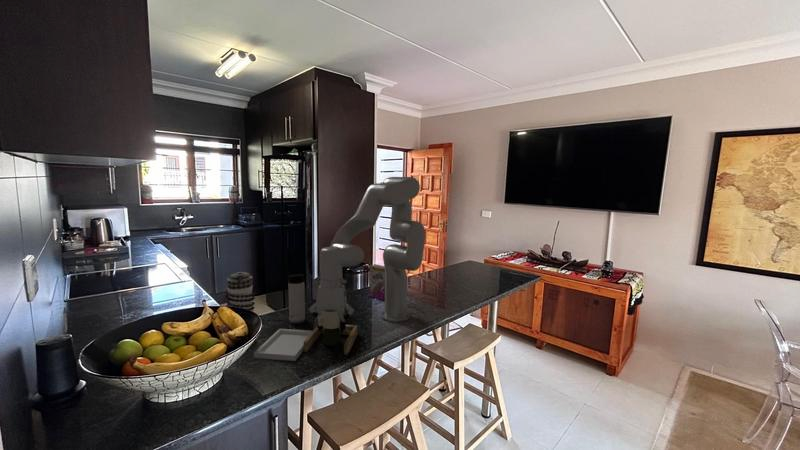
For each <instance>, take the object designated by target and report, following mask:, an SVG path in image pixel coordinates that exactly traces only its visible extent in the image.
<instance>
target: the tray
mask: <svg viewBox="0 0 800 450" xmlns="http://www.w3.org/2000/svg"><path fill="white" fill-rule="evenodd" d="M312 331H313V330H305V329H293V328H292V329H291V328H290V329H288V328H278V329H277V330H276V331H275V332H274V333H273V334H272V335H271V336H270V337H269V338H268V339H266V340H265V342H263V343H262V345H260V346H259V347H258V348H257V349H256V350H255V351H254V352H253V358H254V359H266V360H279V361H291V362H292V361H293V362H296V361H297V360H298V358H299V357H300V356H301V354H302V353H303V352H304V341H305V340H306V338H307V337H308V336H309V335H310V333H311V332H312Z"/></svg>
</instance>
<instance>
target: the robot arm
mask: <svg viewBox="0 0 800 450" xmlns="http://www.w3.org/2000/svg"><path fill="white" fill-rule="evenodd" d="M420 191H421V185H420V181H418V179H417V178H416V177H414V176H413V177H412V176H390V177H387V178H385V179H384V180H383V182H382V183H376V182H375V183H373V184H370V185H369V186H368V187H367V188H366V191H365V193H364V194H363V197H362V199H361V200H360V203H359V206H358V207H357V208H356V209H357V210H356V211H355V213H354V215H353V216H352V217H351V218H350V219H348V220H347V221H346V222H345V223H344V224H343V225H341V227H340V228H339V229H338V230H337V231H336V234H335V235H334V237H333V239H332V241H331V243H330V246H325V247H322V248H321V249H320V252H319V264H320V265H319V270H320V272H319V276H320V285H319V287H318V293H317V302H316V303H315V304H314V305H313V304H312V305H311V306H310V307H308V311H309V312H310V313H311V314H312V316H313V317H314V319H315V320H316V323H317V325H316V326H317V328H319V332H320V331H321V330H322V329H323V326H319V325H318V318H319V317H321V315H322V310H324V311H326V312H335V311H338V315H339V317H340V319H341V322H340V332H341V333H343V331H344V330H345V329H346V325H347V324H346V323H347V320H348V319H350V317H351V316H352V314H354V312H355V309H354V307H352V306H351V305H350V304H348V301H347V300H348V299H347V291H346V286H345V285H346V283H347V279H344V277H343V268H344V267H345V268H346V267H356V266H358V265H360V264H361V263H362V262H363V261H364V258H365V252H364V250H363V249H362V248H361V247H360V246H357V245H355V244H350V242H351V241H352V239H353V238H354V237H355V236H357V235H358V234H360V233H362V232H364V231H367V230H369V229H371V228H374V226H375V225H376V224H377V223H376V222H377V221H378V219H379V216H380V214H381V212H382V210H383V209H384V207H385V206H387V207H391V216H390V222H389V223H390V225H389V237H390V239H391V240H392V241H395V242H400V243H405V244H406V245H402V244H397V243H395V244H394V243H393V244H388V245H387V246H386V247H385V248H384V249H383V252H382V262H383V266H384V267H385V301H384V310H383V311H382V312H381V313H380V317H381V319H383V320H384V321H386V322H390V323H399V322H406V321H407V320H409V319H410V318H411V315H416V316H417V313H418V310H417V309H415V308H414V307H412V308H410V307H409V304H408V303H407V302H408V299H407V298H408V274H407V271H411V272H413V271H414V272H415V271H418V270H419V269H420V267H421V265H422V262H423V257H424V251H425V249H424V248H425V242H426V241H425V240H426V229H425V226H424V225H423V224H422V222H420V221H417V220H412V213H413V210H412V209H413V207H412V203H411V201H410V200H413V199H415V198H416V197H418V194H419V193H420ZM315 308H316V311H315ZM345 311H347V313H346V312H345Z"/></svg>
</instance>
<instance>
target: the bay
mask: <svg viewBox="0 0 800 450" xmlns="http://www.w3.org/2000/svg"><path fill="white" fill-rule="evenodd" d="M324 329H325V328H324V327H323V329H322V330H321V331H320V332H319V328H317V325H316V326H315V327H314V328H313V330H311V331H312V332H311V333H310V335H309V336H308V337H307V338H306V340H305V341H304V350H303V352H305V353H307V352H308V351H309V350H310V349H311V348H312V346H313V345H314V343H315V342H316V341H317V340H318V338H319V337H320V336H321V334H323V335H324ZM339 331H340V327H339ZM358 331H359V325H356V324H346V329H345V330H344V331H343V333H341V332H340V336H341V335H343V336H344V335H345V336H347V339H346V340H345V342H344V344H343V355H347V356H348V355H349V352H350V350H351V349H352V347H353V345H354V342H355V340H356V339H357V336H358V335H359V332H358Z"/></svg>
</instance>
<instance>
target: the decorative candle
mask: <svg viewBox="0 0 800 450" xmlns="http://www.w3.org/2000/svg"><path fill="white" fill-rule="evenodd" d="M226 279H227V280H226V281H227V289H226V290H225V299H226V304H227V305H226V307H227V306H229V307H237V308H243V309H246V310H249V311H252V312H253V313H254V310H255V307H254V305H255V302H254V300H255V298H256V297H254V295H256V294H255V292H254V291H253V290H254V289H255V287H254V286H253V284H252V283H253V280H252V279H253V275H251V274H250V273H249V272H246V271H238V272H234V273H231V274H230V275H229V277H227V278H226Z"/></svg>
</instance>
